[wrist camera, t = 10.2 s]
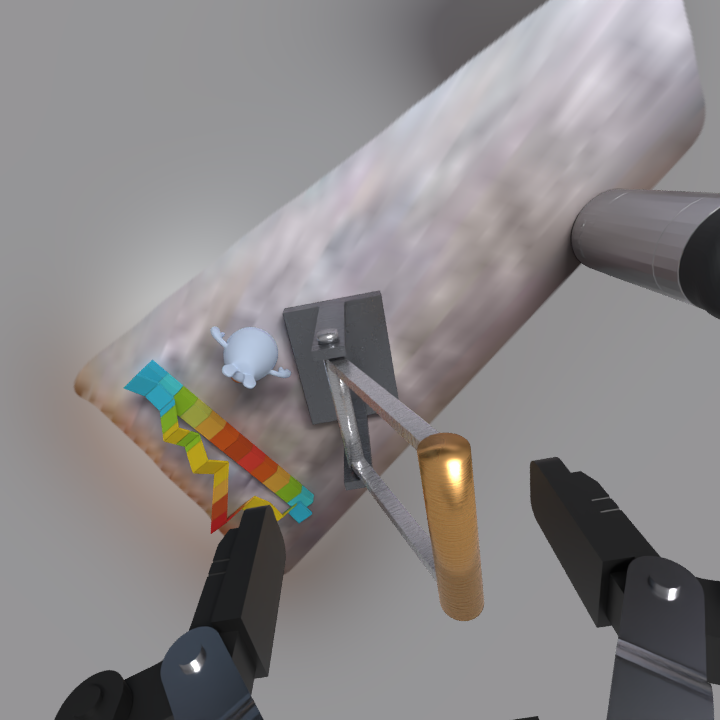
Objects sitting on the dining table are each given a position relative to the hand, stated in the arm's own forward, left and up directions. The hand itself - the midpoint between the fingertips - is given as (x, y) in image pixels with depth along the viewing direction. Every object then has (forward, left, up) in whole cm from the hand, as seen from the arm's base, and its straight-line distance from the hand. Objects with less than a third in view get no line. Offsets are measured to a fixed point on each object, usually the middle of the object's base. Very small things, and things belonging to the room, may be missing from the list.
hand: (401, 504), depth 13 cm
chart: (+22, +21, -41) cm, 51 cm away
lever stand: (+4, +12, -40) cm, 42 cm away
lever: (+4, +12, -26) cm, 29 cm away
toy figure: (+14, +7, -40) cm, 43 cm away
